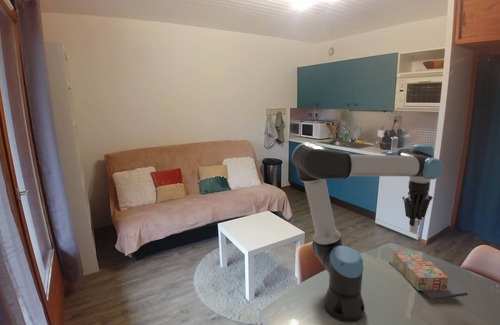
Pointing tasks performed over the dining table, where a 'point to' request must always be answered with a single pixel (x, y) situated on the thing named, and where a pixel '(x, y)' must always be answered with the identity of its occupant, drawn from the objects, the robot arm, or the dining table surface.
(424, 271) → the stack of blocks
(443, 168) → the robot arm
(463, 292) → the mat
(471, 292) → the dining table surface
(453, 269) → the dining table surface
